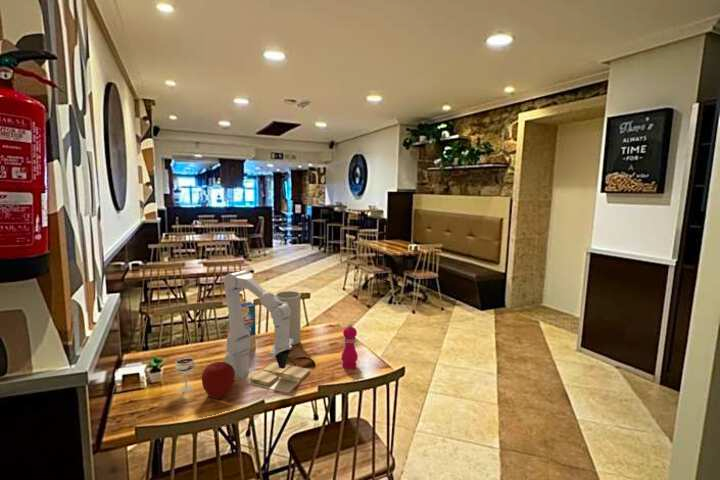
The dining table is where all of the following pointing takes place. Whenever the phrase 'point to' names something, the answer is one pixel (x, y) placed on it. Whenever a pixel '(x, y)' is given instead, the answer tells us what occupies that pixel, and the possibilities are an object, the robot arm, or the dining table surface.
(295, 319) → the cylinder vase
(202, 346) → the dining table surface
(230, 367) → the apple
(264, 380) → the plank
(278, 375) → the plank
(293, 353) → the brown shoe
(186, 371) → the wineglass
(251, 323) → the beverage box
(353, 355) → the pepper mill
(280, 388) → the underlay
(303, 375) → the laid row
